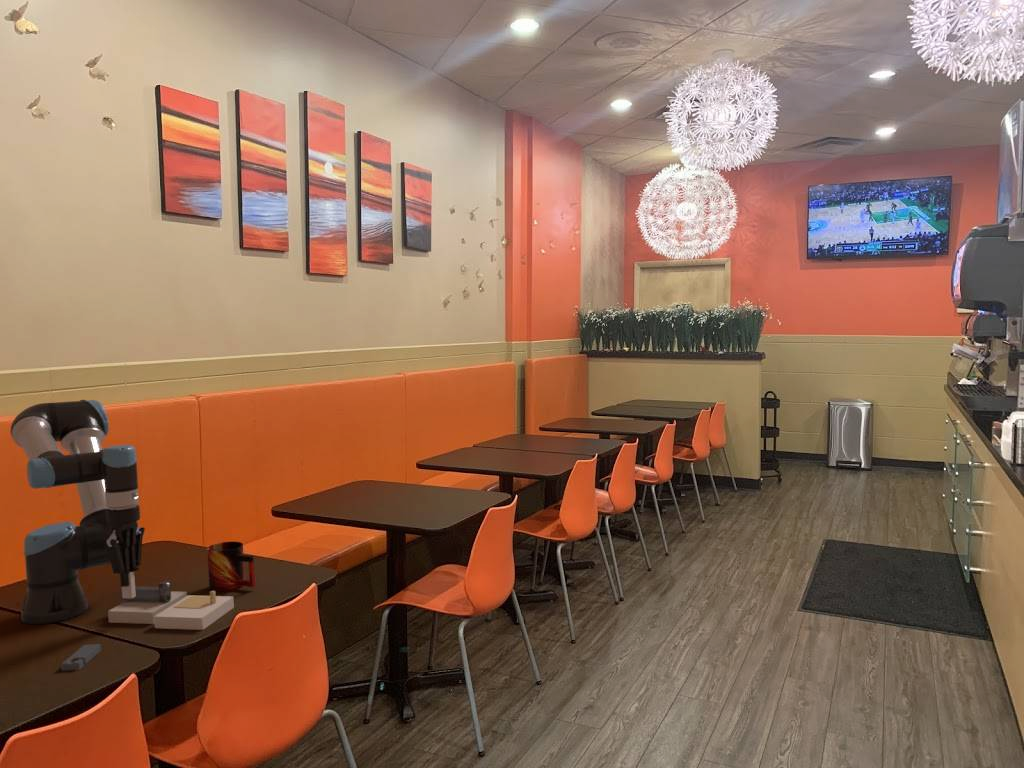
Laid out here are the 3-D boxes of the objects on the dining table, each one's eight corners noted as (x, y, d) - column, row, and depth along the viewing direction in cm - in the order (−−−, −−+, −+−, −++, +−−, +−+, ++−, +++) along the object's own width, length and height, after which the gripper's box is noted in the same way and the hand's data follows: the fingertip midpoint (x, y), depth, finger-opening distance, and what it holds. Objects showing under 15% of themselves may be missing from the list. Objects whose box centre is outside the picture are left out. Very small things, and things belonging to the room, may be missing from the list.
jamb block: (108, 622, 193) (108, 611, 193) (145, 601, 208) (144, 590, 208) (153, 623, 191) (152, 612, 191) (187, 602, 206) (186, 591, 206)
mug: (254, 591, 214) (252, 549, 213) (204, 593, 213) (202, 551, 212) (263, 579, 224) (261, 540, 223) (215, 582, 223) (213, 542, 222)
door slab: (154, 628, 189) (153, 604, 188) (188, 606, 203) (187, 584, 203) (202, 629, 187) (201, 606, 186) (233, 607, 201) (232, 585, 201)
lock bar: (173, 598, 200) (172, 581, 200) (166, 602, 197) (165, 585, 197) (127, 597, 202) (125, 580, 202) (120, 600, 199) (119, 583, 199)
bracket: (101, 651, 176) (101, 643, 176) (79, 671, 166) (78, 662, 166) (84, 652, 176) (83, 644, 176) (60, 672, 166) (60, 664, 166)
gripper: (119, 512, 185) (125, 606, 186) (152, 500, 198) (158, 588, 199) (91, 512, 186) (98, 606, 187) (126, 500, 199) (132, 588, 200)
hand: (129, 597), depth 193 cm, fingers closed
